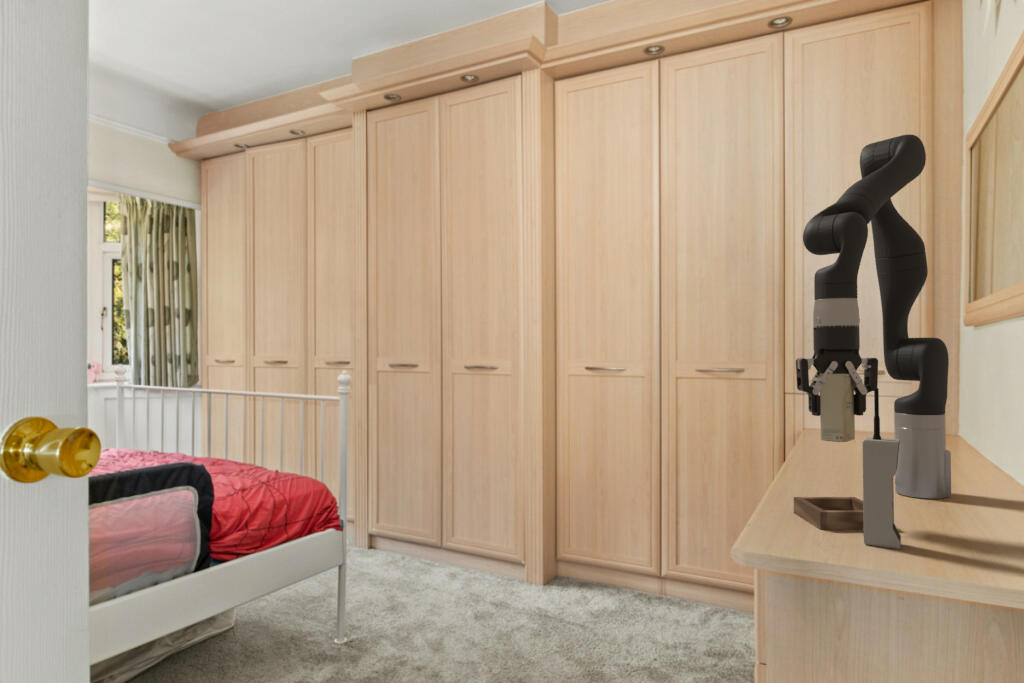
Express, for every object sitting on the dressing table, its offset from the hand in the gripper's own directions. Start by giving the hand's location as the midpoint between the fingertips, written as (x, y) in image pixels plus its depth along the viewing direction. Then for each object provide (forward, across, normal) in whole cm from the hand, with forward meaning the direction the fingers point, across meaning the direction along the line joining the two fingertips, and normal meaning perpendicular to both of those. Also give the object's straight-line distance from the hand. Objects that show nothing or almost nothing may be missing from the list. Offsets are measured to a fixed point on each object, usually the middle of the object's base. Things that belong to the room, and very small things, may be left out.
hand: (837, 415), depth 118 cm
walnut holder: (+19, 0, 0) cm, 19 cm away
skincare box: (+5, 0, 0) cm, 5 cm away
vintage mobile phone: (+19, 0, +14) cm, 24 cm away
